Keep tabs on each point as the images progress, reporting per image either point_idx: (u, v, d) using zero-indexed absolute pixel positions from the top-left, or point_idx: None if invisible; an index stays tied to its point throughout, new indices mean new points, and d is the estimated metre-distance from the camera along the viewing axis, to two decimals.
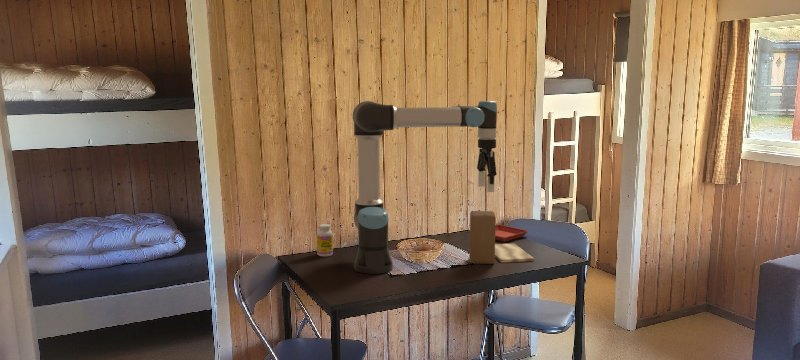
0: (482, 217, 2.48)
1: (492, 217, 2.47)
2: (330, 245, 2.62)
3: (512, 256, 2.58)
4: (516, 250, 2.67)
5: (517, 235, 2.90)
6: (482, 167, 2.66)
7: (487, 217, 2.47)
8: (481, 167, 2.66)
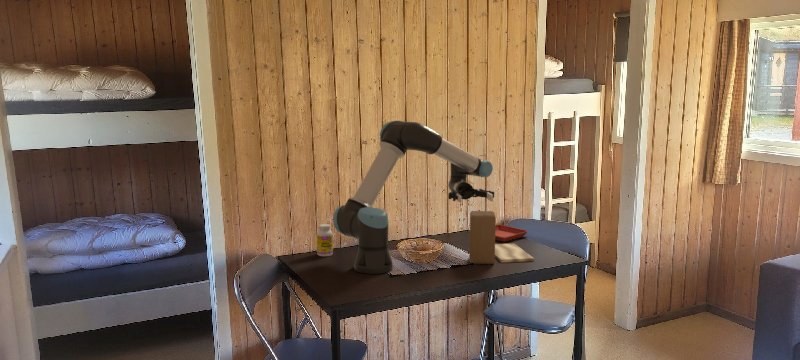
0: (482, 217, 2.48)
1: (492, 217, 2.47)
2: (330, 245, 2.62)
3: (512, 256, 2.58)
4: (516, 250, 2.67)
5: (517, 235, 2.90)
6: (484, 194, 2.70)
7: (487, 217, 2.47)
8: (484, 195, 2.70)
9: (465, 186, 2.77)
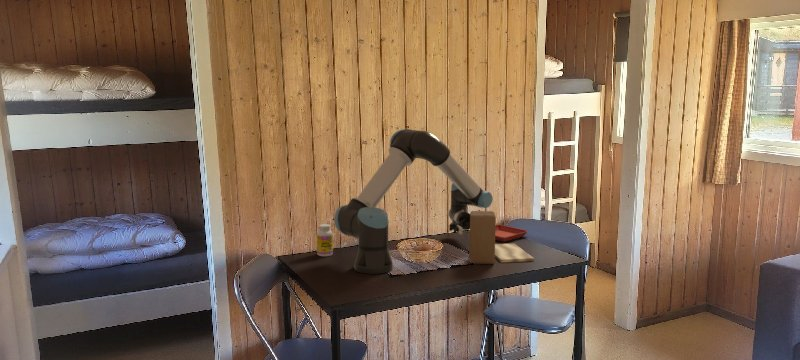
0: (482, 217, 2.48)
1: (492, 217, 2.47)
2: (330, 245, 2.62)
3: (512, 256, 2.58)
4: (516, 250, 2.67)
5: (517, 235, 2.90)
6: None
7: (487, 217, 2.47)
8: None
9: (466, 216, 2.77)
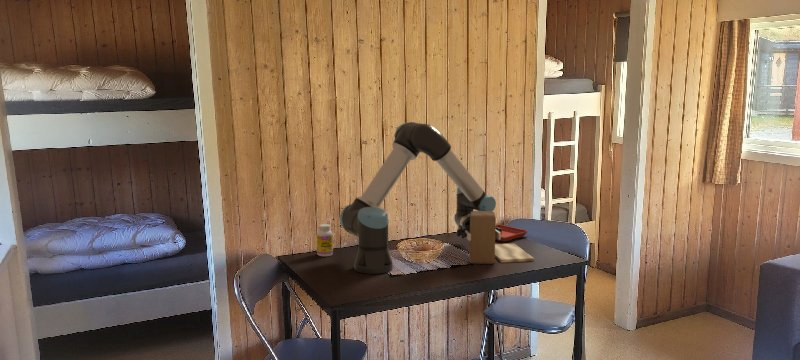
0: (482, 217, 2.48)
1: (492, 217, 2.47)
2: (330, 245, 2.62)
3: (512, 256, 2.58)
4: (516, 250, 2.67)
5: (517, 235, 2.90)
6: None
7: (487, 217, 2.47)
8: None
9: None
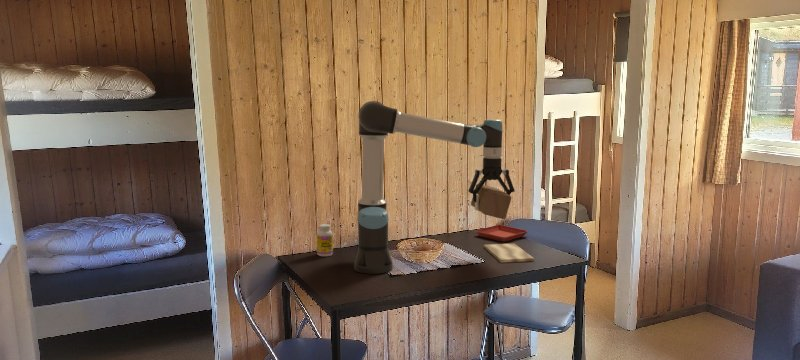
0: (493, 216, 2.50)
1: (502, 218, 2.51)
2: (330, 245, 2.62)
3: (512, 256, 2.58)
4: (516, 250, 2.67)
5: (517, 235, 2.90)
6: (504, 188, 2.58)
7: (497, 217, 2.51)
8: (503, 188, 2.58)
9: (493, 167, 2.54)
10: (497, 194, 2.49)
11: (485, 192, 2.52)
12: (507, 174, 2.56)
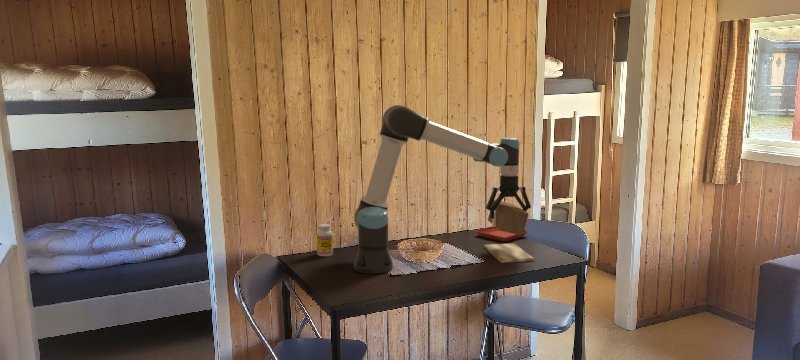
0: (510, 232, 2.57)
1: (519, 234, 2.57)
2: (330, 245, 2.62)
3: (512, 256, 2.58)
4: (516, 250, 2.67)
5: (517, 235, 2.90)
6: (520, 205, 2.64)
7: (515, 233, 2.57)
8: (520, 205, 2.65)
9: (510, 185, 2.60)
10: (514, 211, 2.55)
11: (503, 209, 2.58)
12: (524, 191, 2.62)
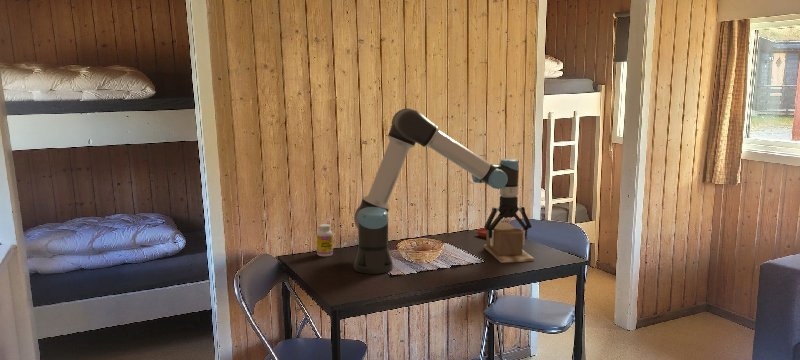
0: (510, 255, 2.58)
1: None
2: (330, 245, 2.62)
3: (512, 256, 2.58)
4: None
5: None
6: (521, 225, 2.66)
7: (514, 255, 2.58)
8: (520, 224, 2.66)
9: None
10: (508, 234, 2.56)
11: (497, 234, 2.59)
12: (523, 211, 2.64)
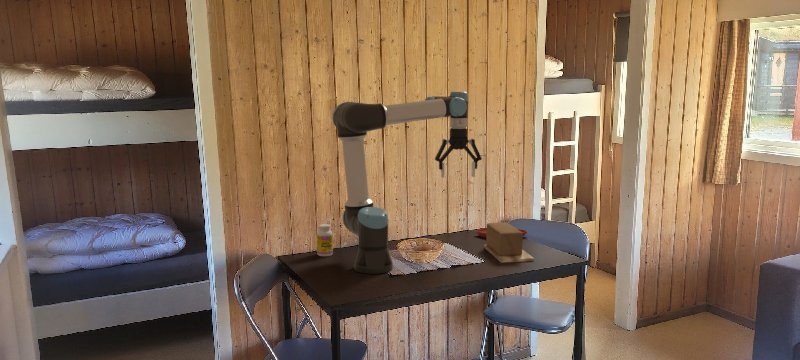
0: (510, 255, 2.58)
1: None
2: (330, 245, 2.62)
3: (512, 256, 2.58)
4: None
5: None
6: (471, 157, 2.70)
7: (514, 255, 2.58)
8: (471, 157, 2.71)
9: None
10: (508, 234, 2.56)
11: (497, 234, 2.59)
12: (473, 143, 2.68)
